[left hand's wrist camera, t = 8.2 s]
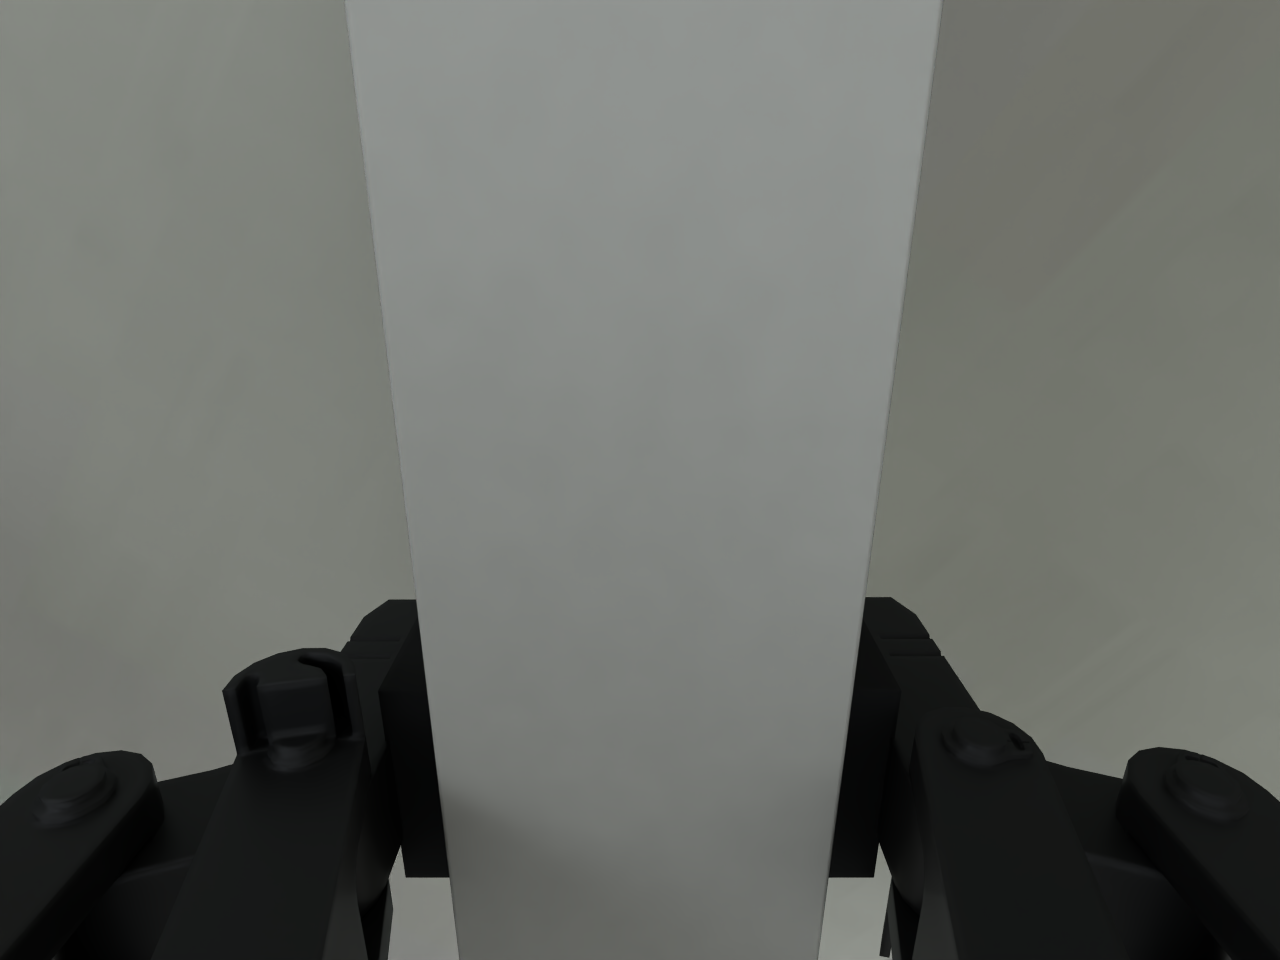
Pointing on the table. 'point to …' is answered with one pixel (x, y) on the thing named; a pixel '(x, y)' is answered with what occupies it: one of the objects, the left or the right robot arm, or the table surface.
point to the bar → (641, 439)
